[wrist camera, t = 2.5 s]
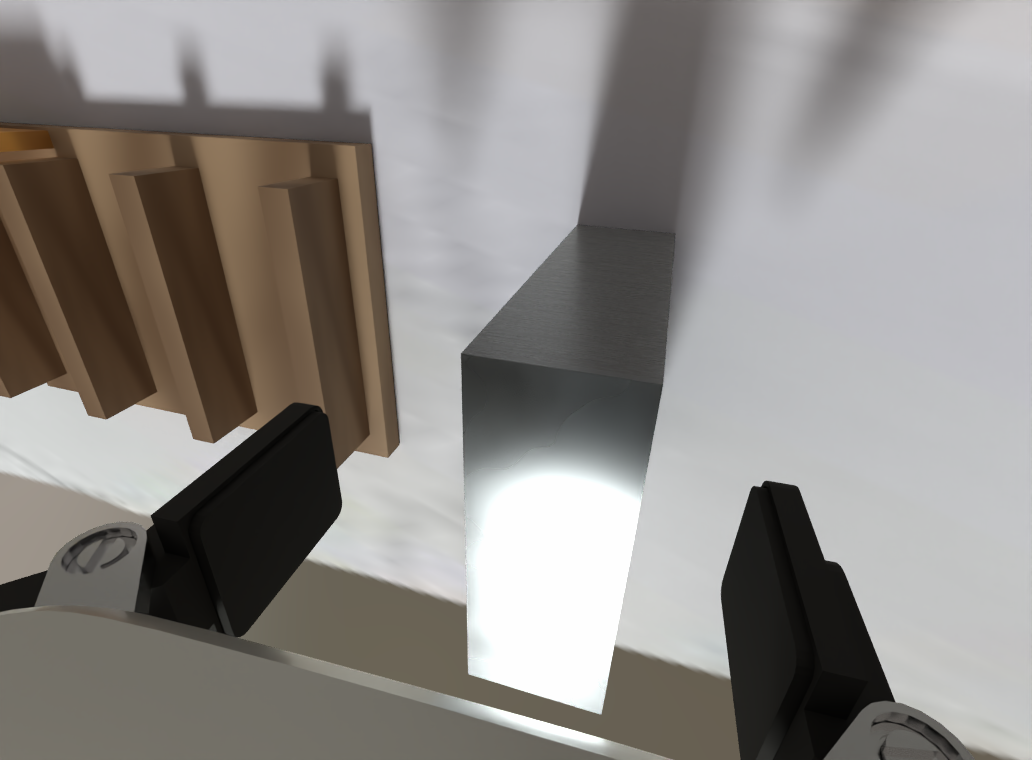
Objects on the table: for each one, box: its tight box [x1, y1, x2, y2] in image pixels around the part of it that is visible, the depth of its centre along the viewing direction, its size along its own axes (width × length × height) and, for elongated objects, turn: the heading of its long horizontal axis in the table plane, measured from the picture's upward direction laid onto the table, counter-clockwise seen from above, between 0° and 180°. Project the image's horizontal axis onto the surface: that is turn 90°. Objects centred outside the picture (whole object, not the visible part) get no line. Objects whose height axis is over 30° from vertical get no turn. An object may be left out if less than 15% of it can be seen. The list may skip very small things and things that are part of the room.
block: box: [461, 225, 675, 714], centre depth 14 cm, size 3×8×10 cm, turn 178°
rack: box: [0, 122, 399, 469], centre depth 21 cm, size 19×12×4 cm, turn 88°
